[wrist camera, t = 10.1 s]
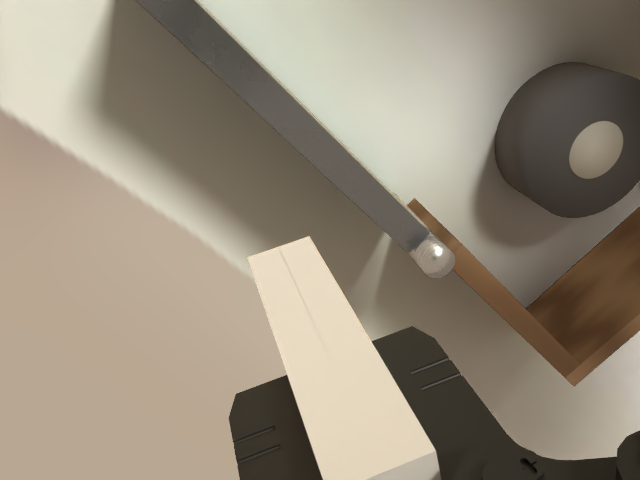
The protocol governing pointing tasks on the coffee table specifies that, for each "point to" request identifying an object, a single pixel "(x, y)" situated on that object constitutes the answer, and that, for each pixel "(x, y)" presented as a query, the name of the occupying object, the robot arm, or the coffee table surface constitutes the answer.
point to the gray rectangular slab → (300, 128)
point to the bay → (567, 299)
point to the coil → (572, 139)
